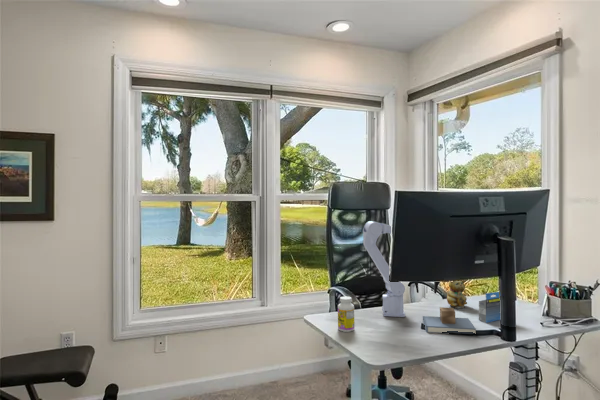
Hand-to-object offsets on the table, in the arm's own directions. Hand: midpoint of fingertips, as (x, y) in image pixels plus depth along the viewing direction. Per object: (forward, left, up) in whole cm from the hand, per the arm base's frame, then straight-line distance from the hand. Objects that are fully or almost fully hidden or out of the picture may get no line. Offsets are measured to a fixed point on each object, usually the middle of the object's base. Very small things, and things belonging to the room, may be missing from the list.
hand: (426, 292), depth 168 cm
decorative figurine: (+15, +14, -10) cm, 23 cm away
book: (+6, -19, -10) cm, 22 cm away
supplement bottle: (-34, -28, -10) cm, 45 cm away
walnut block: (+6, -19, -7) cm, 21 cm away
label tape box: (+25, -6, -10) cm, 27 cm away
